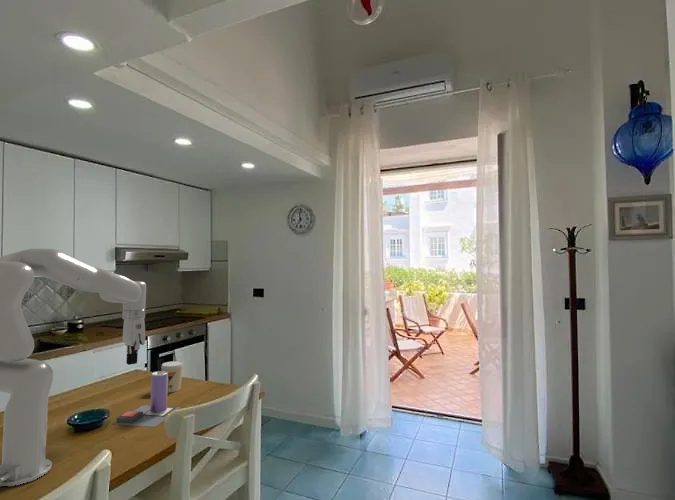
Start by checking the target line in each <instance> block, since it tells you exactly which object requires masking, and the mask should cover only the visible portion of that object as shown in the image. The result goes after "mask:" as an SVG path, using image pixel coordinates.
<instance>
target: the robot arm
mask: <svg viewBox="0 0 675 500" xmlns="http://www.w3.org/2000/svg"><path fill="white" fill-rule="evenodd" d="M35 277H41V278H42V277H43V278H47V279H49V280H52V281H55V282H57V283H60V284H63V285H65V286H67V287H70V288H72V289H75V290H77V291H83V292H87V293H95V294H98V296H99V297H100V299H101V300H103V301H104V302H108V303H115V304H119V303H120V304H122V314H121V315H122V320H123V325H122V326H123V327H122V343H123V344H124V345H125V346H126V364H127V365H128V366H129V365H136V364H138V353H139V350H140V349H141V347H140V345H141V346H144V345H145V344H146V324H145V323H146V322H145V318H146V304H147V303H146V301H147V284H146V282H145V281H141V280H140V281H139V280H138V281H137V280H135V281H134V280H132V279H130V278H128V277H126V276H124V275H121V274H119V273H118V274H117V273H115V272H112V271H108V270H105V269H103V268H100V267H96V266H93V265H90V264H88V263H86V262H84V261H82V260H80V259H78V258H75V257H73V256H72V255H69V254H67V253H65V252H63V251H62V250H58V249H55V248H54V249H53V248H29V249H24V250H20V251H17V252H13V253H9V254H6V255H2V256H0V392H1V393H6V394H10V397H9V399H8V401H7V404H6V406H5V408H4V412H3V420H2V421H3V429H2V430H3V431H2V445H1V447H2V450H1V464H0V487H2V486H8V487H15V485H16V486H20V484H21V485H24V484H27V482H28V483H30V482H33V481H35V480H38V479H40V478H42V477H43V476H44V474H45V475H46V474H47V473H48V471H50V470H51V469H52V467H53V466H52V465H53V462H52V461H51V460H50V459H48V458H46V452H47V451H46V450H47V431H48V408H49V406H48V405H49V404H48V403H49V396H50V390H51V387H52V384H53V380H54V371H53V370H54V369H52V367H51V365H50V364H48V363H47V362H45V361H43V360H39V359H33V358H30V356H31V355H32V354H33V352H34V349H35V340H34V337H33V334H32V332H31V330H30V328H29V325H28V323H27V320H26V318H25V315H24V312H23V311H22V310H23V309H22V302H23V299H24V297H25V295H26V293H27V292H28V290H29V289H30V288H31V286H32V285H33V283H34V281H35ZM28 357H29V358H28ZM41 476H42V477H41ZM39 477H40V478H39ZM37 478H38V479H37ZM23 483H24V484H23Z"/></svg>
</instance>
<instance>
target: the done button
mask: <svg viewBox="0 0 675 500" xmlns="http://www.w3.org/2000/svg"><path fill="white" fill-rule="evenodd" d="M127 411H128V412H127ZM127 411H125V412H126V413H125V412H124V413H125V414H123V413H122V414H123V415H122V414H120V415H121V417H129V418H133V417H134V416H136V415H137V414H139V412H134V411H135V410H127Z"/></svg>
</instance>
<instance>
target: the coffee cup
mask: <svg viewBox="0 0 675 500" xmlns="http://www.w3.org/2000/svg"><path fill="white" fill-rule="evenodd" d="M183 366H184V364H183V362H182V361H177V360H176V361H175V360H174V361H173V360H172V361H167V362H163V363H162V364H161V366H160V367H161V371H167V372H168V393H174V392H178V391H180V390H181V386H182V378H183V377H182V376H183Z"/></svg>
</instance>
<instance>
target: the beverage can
mask: <svg viewBox="0 0 675 500" xmlns="http://www.w3.org/2000/svg"><path fill="white" fill-rule="evenodd" d="M150 378H151V379H150V380H151V381H150V402H149V403H150V405H149V406H150V412H151V413H152V414H161V413H164V412H165V411H166V410H167V407H168V396H169V395H168V394H169V392H168V372H167V371H162V370H159V371H153V372H152V373H151V377H150Z"/></svg>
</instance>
